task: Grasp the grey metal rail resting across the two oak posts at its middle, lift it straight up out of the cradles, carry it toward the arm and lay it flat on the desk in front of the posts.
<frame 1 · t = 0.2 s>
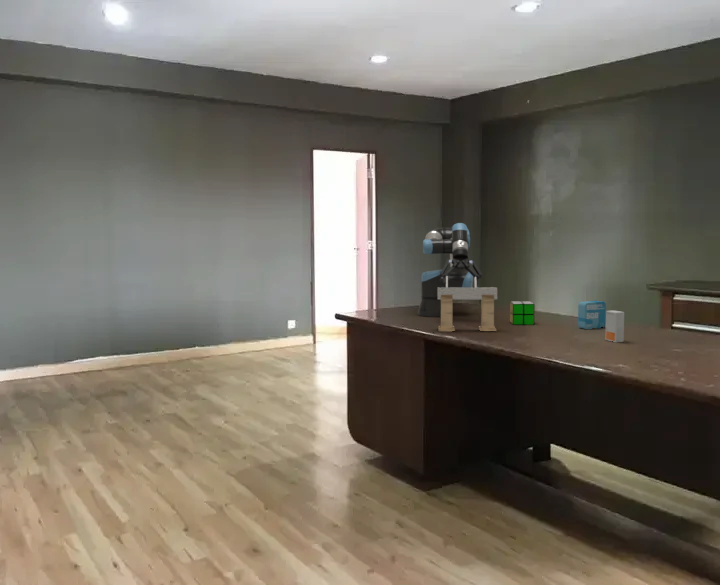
hand: (461, 289, 319), 16 cm above the table, tool tilted 35°, fingers open, 13 cm apart
skincare box: (614, 341, 269), on the table
rail: (467, 298, 298), point 14 cm above the table, touching post 2, post 1
post 2: (487, 330, 298), on the table
puzzle cube: (521, 323, 318), on the table
data package: (591, 328, 302), on the table
post 1: (446, 330, 300), on the table
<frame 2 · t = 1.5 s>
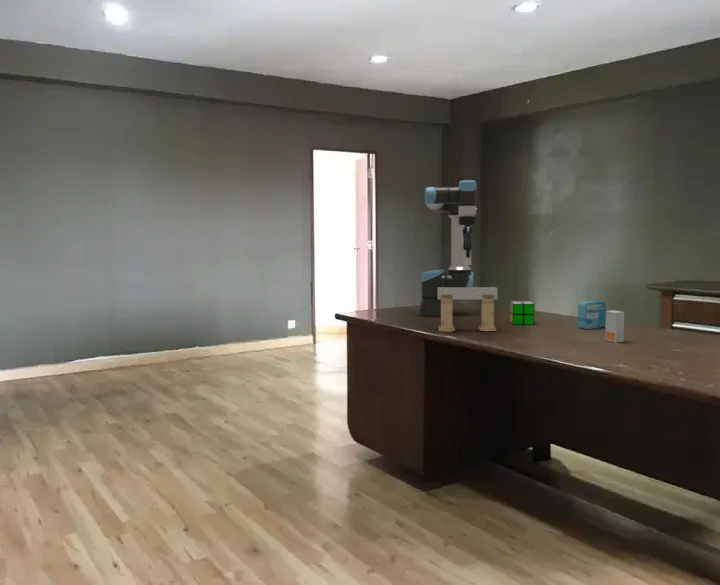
hand: (467, 264, 297), 29 cm above the table, tool pointing down, fingers open, 13 cm apart
nothing on the table moved.
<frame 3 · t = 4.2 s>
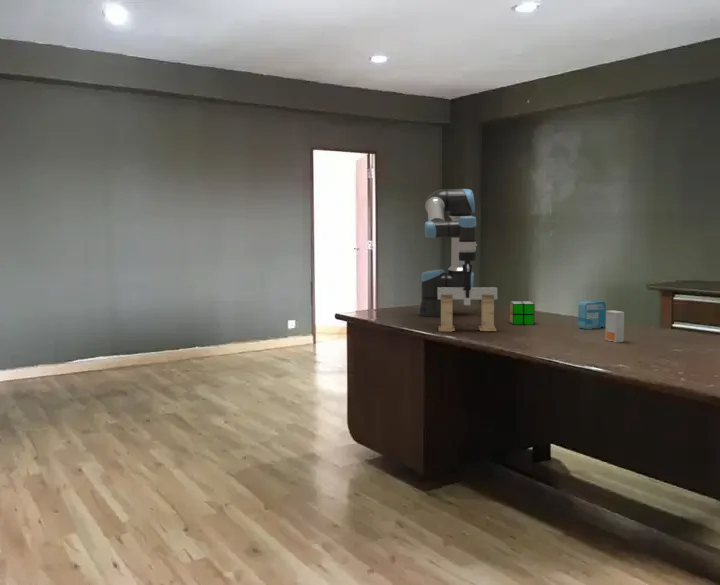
hand: (467, 304, 298), 12 cm above the table, tool pointing down, fingers closed on rail, 4 cm apart
rail: (467, 298, 298), point 14 cm above the table, touching gripper, post 2, post 1
everything else where it was.
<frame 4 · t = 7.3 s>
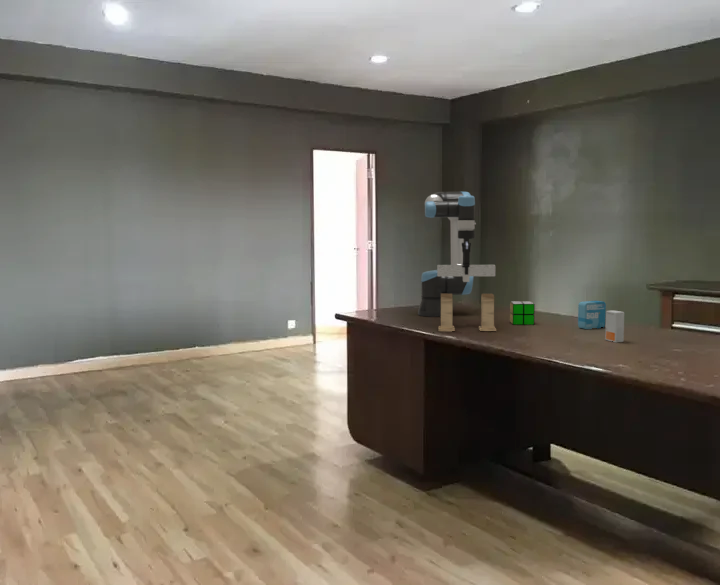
hand: (466, 281, 307), 21 cm above the table, tool pointing down, fingers closed on rail, 4 cm apart
rail: (466, 276, 307), point 23 cm above the table, touching gripper
everything else where it was.
when the fingers open (0 cm above the table, at t = 10.5 s): rail drops 3 cm, on the table.
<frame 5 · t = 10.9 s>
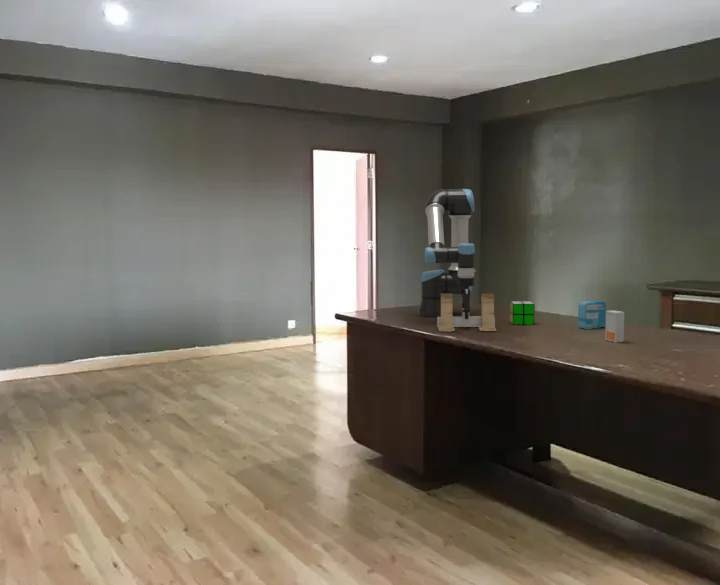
hand: (465, 324, 309), 1 cm above the table, tool pointing down, fingers open, 12 cm apart
rail: (465, 327, 309), on the table
everything else where it was.
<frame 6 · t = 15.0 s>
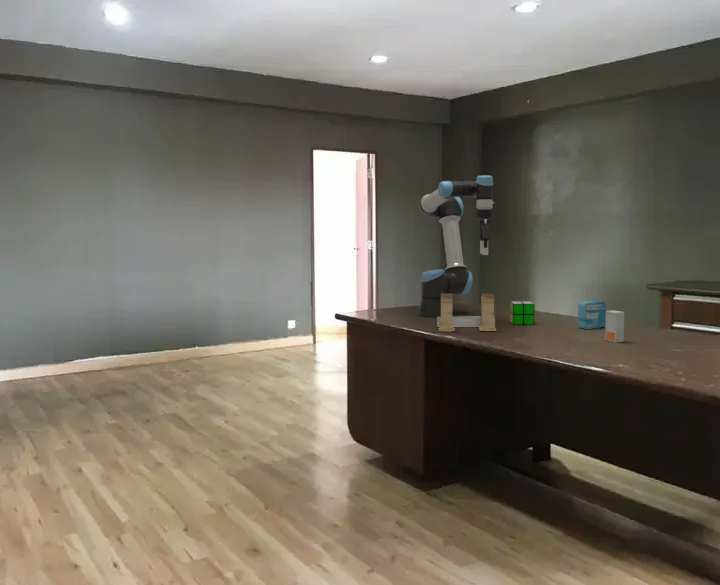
hand: (484, 254, 317), 33 cm above the table, tool pointing down, fingers open, 13 cm apart
nothing on the table moved.
at the end: rail inside the target area (0.7 cm from its centre), on the table; rail touching table; the gripper is holding nothing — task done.
